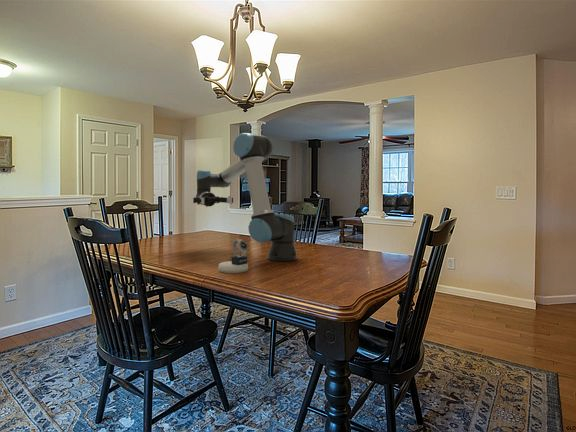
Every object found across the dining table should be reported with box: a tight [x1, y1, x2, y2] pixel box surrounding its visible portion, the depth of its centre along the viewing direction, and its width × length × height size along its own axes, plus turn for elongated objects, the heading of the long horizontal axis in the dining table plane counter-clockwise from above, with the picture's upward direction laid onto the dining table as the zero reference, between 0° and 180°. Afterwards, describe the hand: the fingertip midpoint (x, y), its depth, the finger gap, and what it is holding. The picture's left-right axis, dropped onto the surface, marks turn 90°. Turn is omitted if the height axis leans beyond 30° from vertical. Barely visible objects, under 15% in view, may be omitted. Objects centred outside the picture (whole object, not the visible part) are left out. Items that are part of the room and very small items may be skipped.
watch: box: [231, 239, 249, 265], centre depth 164 cm, size 6×8×11 cm
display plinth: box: [218, 260, 249, 274], centre depth 164 cm, size 13×13×2 cm
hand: (217, 201), depth 176 cm, fingers open, 13 cm apart
